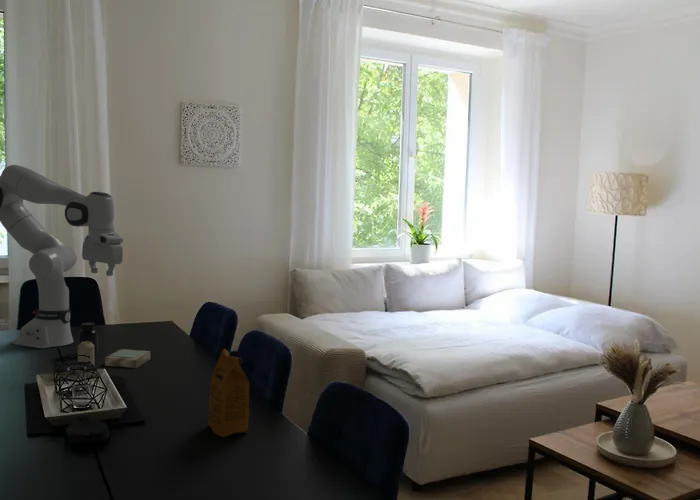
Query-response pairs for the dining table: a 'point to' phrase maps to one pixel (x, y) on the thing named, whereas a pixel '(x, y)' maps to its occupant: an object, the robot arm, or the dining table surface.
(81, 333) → the supplement bottle
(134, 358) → the plinth
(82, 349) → the candle
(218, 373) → the coffee package
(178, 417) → the dining table surface
